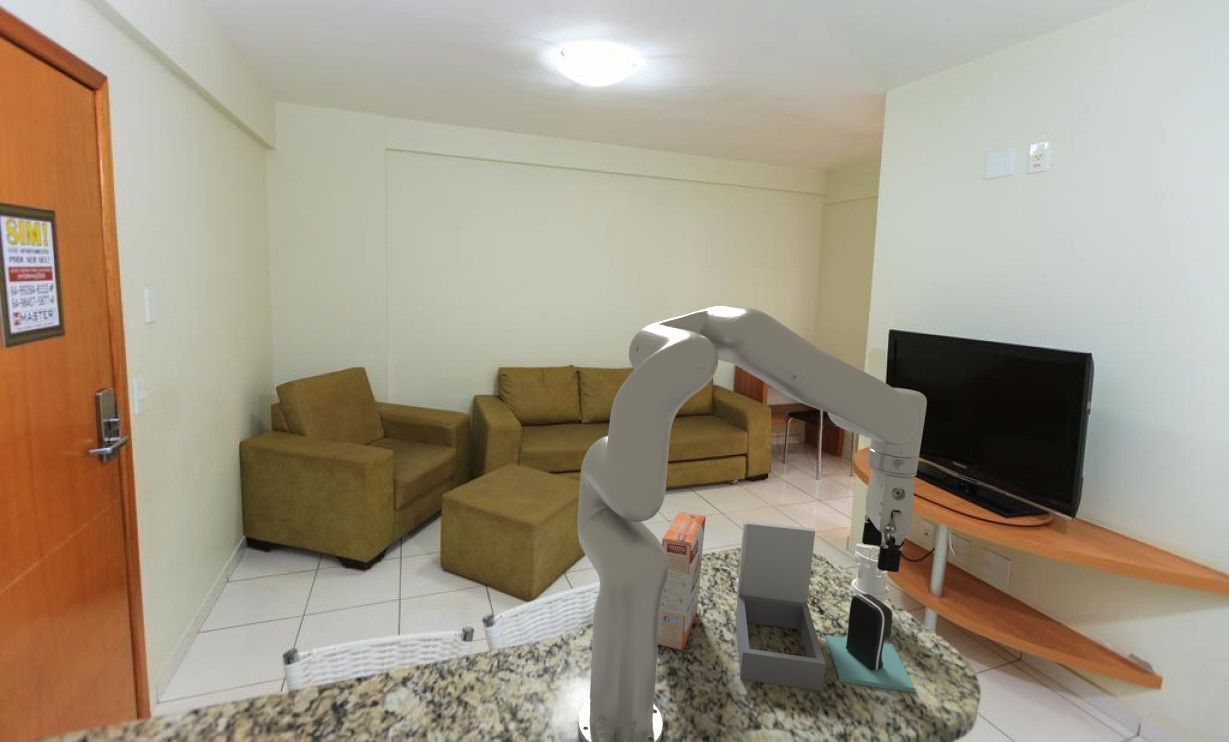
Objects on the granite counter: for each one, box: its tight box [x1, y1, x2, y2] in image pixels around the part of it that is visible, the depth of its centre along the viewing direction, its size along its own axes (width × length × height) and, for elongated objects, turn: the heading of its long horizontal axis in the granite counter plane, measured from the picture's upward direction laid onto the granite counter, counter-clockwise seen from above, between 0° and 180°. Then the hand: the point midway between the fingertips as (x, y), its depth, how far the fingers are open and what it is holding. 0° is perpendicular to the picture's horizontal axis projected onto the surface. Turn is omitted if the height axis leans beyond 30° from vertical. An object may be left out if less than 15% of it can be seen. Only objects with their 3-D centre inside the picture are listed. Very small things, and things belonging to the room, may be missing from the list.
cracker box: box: [658, 511, 707, 652], centre depth 109 cm, size 14×6×21 cm, turn 161°
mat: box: [825, 634, 916, 694], centre depth 103 cm, size 12×12×1 cm
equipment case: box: [735, 520, 827, 692], centre depth 104 cm, size 20×13×20 cm
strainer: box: [850, 543, 890, 602], centre depth 117 cm, size 7×7×15 cm
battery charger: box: [846, 594, 894, 671], centre depth 102 cm, size 7×4×11 cm, turn 21°
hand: (879, 556), depth 99 cm, fingers open, 9 cm apart
